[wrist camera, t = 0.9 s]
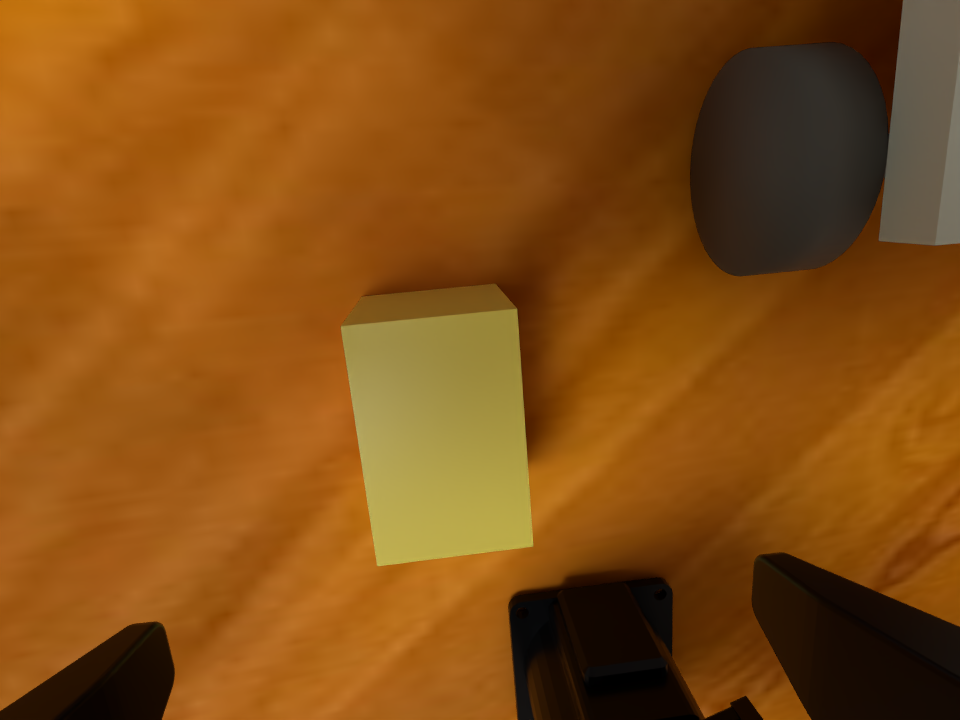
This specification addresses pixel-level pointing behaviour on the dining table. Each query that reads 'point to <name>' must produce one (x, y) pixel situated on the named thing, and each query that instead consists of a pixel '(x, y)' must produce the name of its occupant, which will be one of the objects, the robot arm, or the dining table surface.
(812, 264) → the trolley
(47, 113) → the dining table surface
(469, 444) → the chock
